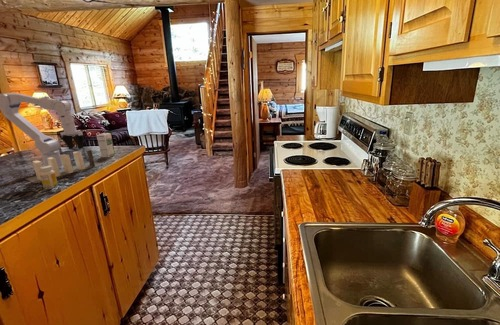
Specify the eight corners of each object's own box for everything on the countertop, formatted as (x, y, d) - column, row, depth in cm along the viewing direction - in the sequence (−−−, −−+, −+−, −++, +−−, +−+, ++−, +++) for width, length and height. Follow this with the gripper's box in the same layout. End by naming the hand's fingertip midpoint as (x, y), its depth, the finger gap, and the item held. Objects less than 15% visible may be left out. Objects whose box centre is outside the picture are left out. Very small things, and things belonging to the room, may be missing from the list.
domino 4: (81, 169, 141) (77, 153, 138) (76, 168, 143) (72, 152, 141) (85, 168, 142) (81, 152, 140) (80, 167, 145) (76, 151, 142)
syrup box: (109, 157, 163) (104, 134, 159) (101, 157, 165) (96, 134, 160) (115, 155, 169) (111, 132, 164) (107, 155, 170) (102, 132, 166)
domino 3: (69, 173, 136) (64, 156, 133) (64, 171, 139) (60, 155, 136) (73, 172, 137) (69, 155, 135) (68, 170, 140) (64, 154, 137)
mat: (25, 179, 130) (24, 178, 130) (93, 161, 156) (93, 160, 156) (35, 184, 124) (34, 183, 124) (104, 164, 150) (104, 163, 150)
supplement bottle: (45, 190, 115) (39, 169, 113) (42, 187, 119) (36, 167, 116) (60, 186, 119) (54, 166, 117) (56, 184, 123) (50, 164, 120)
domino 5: (90, 166, 145) (87, 150, 142) (89, 164, 149) (86, 149, 146) (95, 166, 146) (91, 150, 143) (93, 164, 150) (90, 148, 147)
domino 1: (41, 180, 126) (36, 162, 124) (37, 179, 129) (32, 161, 126) (46, 179, 128) (41, 161, 125) (42, 177, 131) (37, 160, 128)
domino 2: (56, 176, 131) (51, 159, 128) (51, 175, 134) (46, 158, 131) (60, 175, 133) (55, 158, 130) (56, 174, 135) (51, 157, 133)
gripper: (51, 126, 140) (60, 150, 144) (70, 124, 134) (78, 150, 139) (64, 123, 146) (72, 147, 150) (82, 122, 141) (90, 146, 145)
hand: (76, 148), depth 145 cm, fingers open, 7 cm apart
